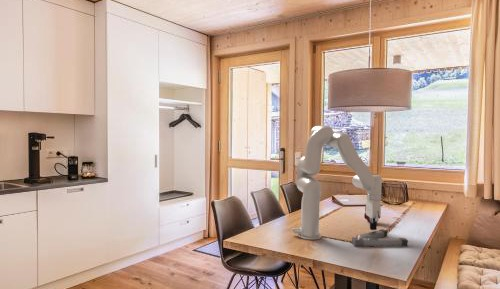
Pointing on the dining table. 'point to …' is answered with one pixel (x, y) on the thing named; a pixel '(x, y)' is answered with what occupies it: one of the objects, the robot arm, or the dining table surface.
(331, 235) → the dining table surface
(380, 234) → the tongs leg
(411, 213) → the dining table surface
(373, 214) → the robot arm
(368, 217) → the mug
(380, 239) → the base
